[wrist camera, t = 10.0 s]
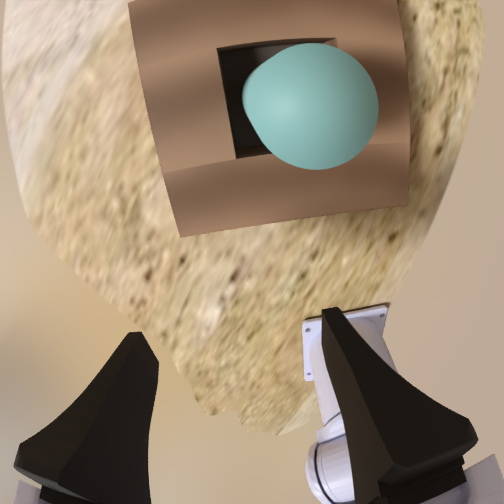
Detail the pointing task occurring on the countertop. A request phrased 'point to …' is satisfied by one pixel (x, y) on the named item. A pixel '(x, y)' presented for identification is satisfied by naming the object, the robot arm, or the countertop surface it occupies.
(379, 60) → the socket block
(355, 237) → the countertop surface
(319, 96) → the peg
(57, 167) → the countertop surface
